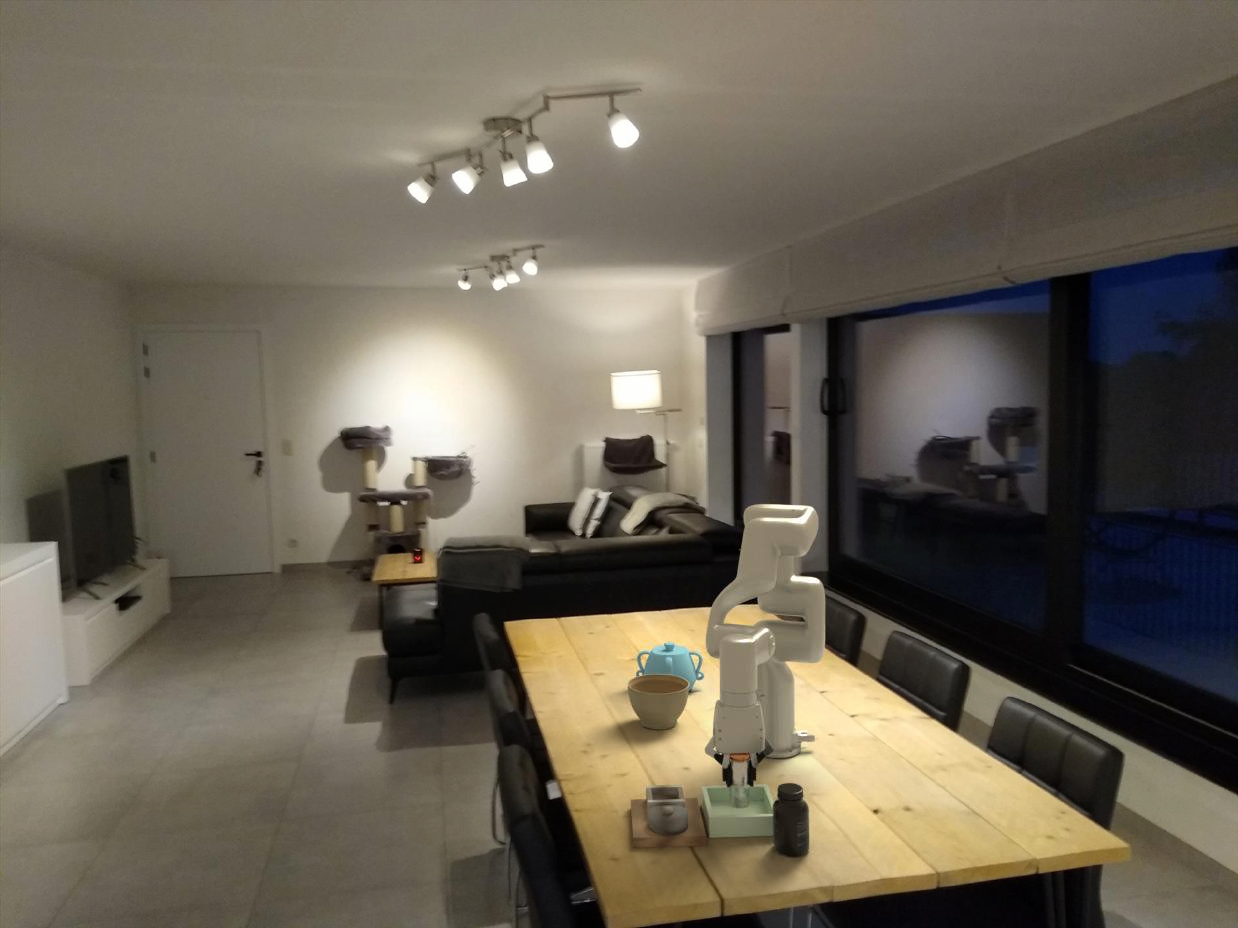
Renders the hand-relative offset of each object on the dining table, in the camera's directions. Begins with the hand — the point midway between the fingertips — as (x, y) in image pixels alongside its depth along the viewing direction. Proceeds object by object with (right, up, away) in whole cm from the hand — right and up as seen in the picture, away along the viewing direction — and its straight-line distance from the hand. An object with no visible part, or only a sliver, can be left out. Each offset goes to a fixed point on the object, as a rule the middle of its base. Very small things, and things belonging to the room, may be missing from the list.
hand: (739, 783), depth 182 cm
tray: (0, -8, +1) cm, 8 cm away
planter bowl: (-14, -4, +53) cm, 55 cm away
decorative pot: (-9, -1, +80) cm, 81 cm away
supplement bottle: (+8, -9, -11) cm, 16 cm away
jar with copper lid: (0, -4, 0) cm, 4 cm away
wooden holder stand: (-15, -8, -2) cm, 17 cm away
